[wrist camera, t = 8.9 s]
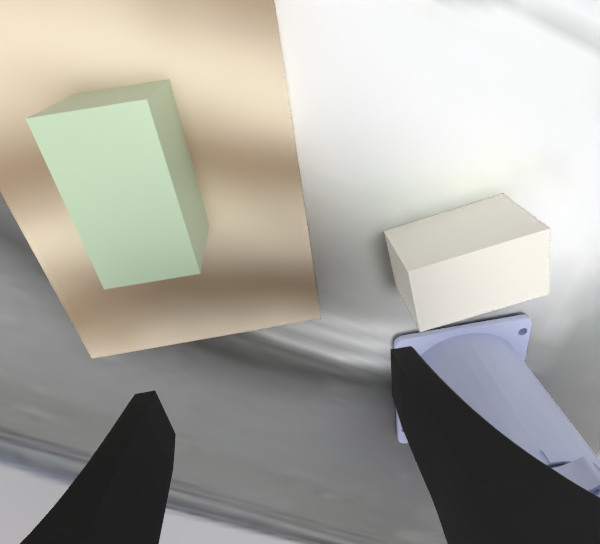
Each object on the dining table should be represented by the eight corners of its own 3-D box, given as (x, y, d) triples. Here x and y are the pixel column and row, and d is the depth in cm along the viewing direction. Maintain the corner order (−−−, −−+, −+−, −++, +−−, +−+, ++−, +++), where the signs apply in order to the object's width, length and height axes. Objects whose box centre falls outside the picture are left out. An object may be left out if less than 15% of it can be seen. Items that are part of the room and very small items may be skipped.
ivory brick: (501, 192, 21) (550, 228, 18) (504, 251, 23) (549, 294, 19) (383, 229, 21) (408, 271, 18) (395, 284, 23) (419, 332, 20)
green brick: (209, 225, 19) (200, 273, 16) (130, 238, 19) (103, 289, 15) (169, 79, 16) (146, 98, 12) (74, 94, 16) (25, 118, 12)
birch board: (318, 305, 23) (321, 318, 22) (98, 343, 23) (91, 358, 22) (250, -145, 14) (250, -157, 13) (-124, -83, 14) (-154, -90, 13)
